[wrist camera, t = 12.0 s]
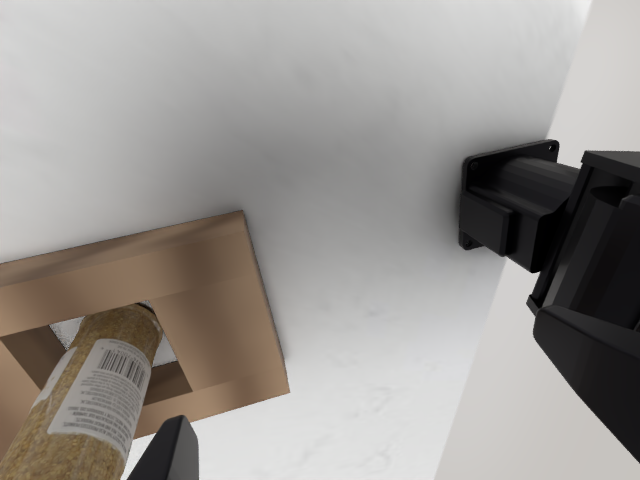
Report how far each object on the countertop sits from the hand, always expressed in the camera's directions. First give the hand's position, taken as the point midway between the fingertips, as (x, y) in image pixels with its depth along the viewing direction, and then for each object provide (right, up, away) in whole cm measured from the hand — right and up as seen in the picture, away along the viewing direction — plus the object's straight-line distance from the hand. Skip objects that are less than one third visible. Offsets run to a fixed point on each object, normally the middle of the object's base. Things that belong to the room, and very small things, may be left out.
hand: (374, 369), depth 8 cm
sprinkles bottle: (-13, -2, +13) cm, 19 cm away
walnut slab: (-14, -2, +13) cm, 19 cm away
